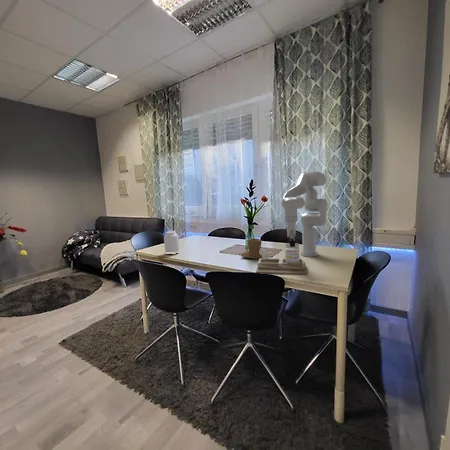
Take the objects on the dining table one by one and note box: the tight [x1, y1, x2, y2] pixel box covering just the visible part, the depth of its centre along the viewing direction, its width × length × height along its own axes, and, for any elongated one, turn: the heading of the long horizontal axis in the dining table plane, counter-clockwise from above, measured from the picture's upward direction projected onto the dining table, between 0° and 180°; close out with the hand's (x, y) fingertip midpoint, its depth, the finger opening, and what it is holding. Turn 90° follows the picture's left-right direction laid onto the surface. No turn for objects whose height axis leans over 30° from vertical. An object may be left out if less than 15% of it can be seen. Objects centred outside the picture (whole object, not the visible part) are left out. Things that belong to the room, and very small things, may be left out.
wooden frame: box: [255, 258, 307, 276], centre depth 155 cm, size 24×30×4 cm
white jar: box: [163, 230, 180, 253], centre depth 212 cm, size 12×12×20 cm
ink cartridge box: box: [285, 242, 300, 263], centre depth 153 cm, size 9×5×15 cm, turn 75°
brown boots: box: [240, 237, 263, 260], centre depth 182 cm, size 15×12×15 cm
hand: (292, 244), depth 152 cm, fingers open, 9 cm apart
